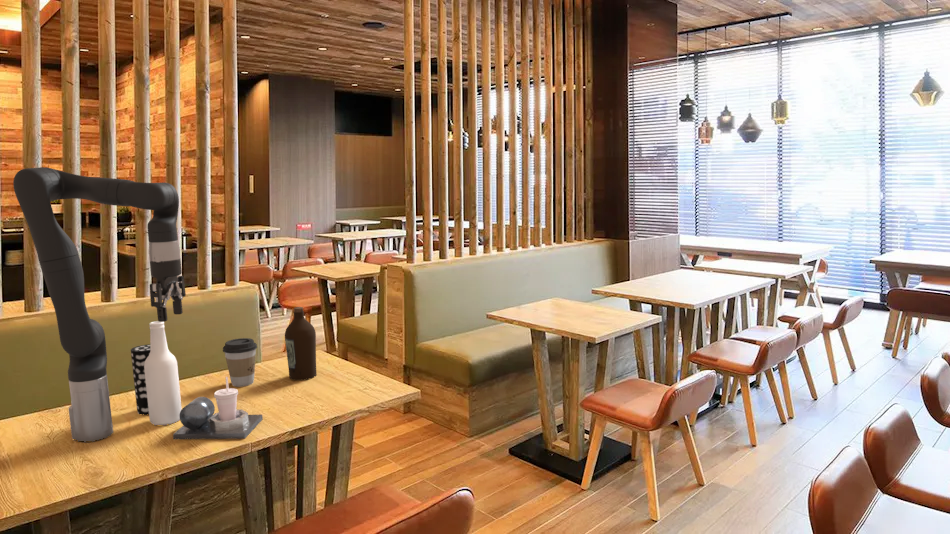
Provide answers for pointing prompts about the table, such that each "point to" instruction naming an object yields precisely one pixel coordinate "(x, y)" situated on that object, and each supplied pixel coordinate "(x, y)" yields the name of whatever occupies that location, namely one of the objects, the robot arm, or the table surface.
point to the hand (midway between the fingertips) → (170, 317)
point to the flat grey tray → (213, 422)
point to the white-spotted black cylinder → (140, 377)
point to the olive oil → (301, 347)
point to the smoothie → (226, 402)
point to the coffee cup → (240, 360)
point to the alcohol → (162, 379)
